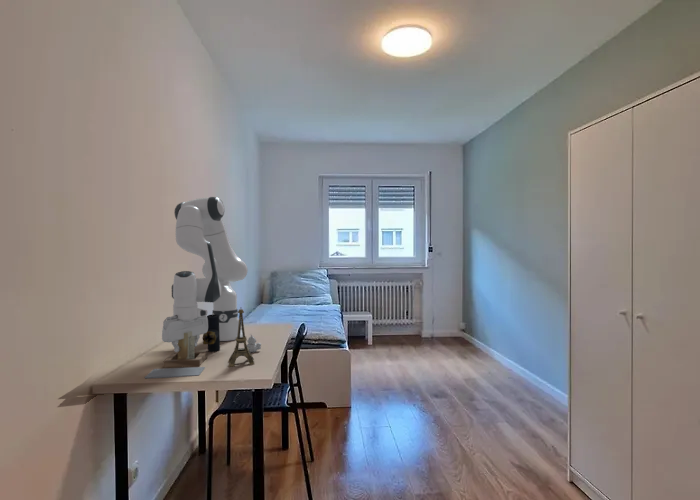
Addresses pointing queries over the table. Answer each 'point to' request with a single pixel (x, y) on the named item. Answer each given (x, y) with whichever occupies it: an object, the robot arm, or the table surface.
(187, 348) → the skincare box
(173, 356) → the walnut socket
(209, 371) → the table surface
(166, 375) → the grey mat
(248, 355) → the eiffel tower
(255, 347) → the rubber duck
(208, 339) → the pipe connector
